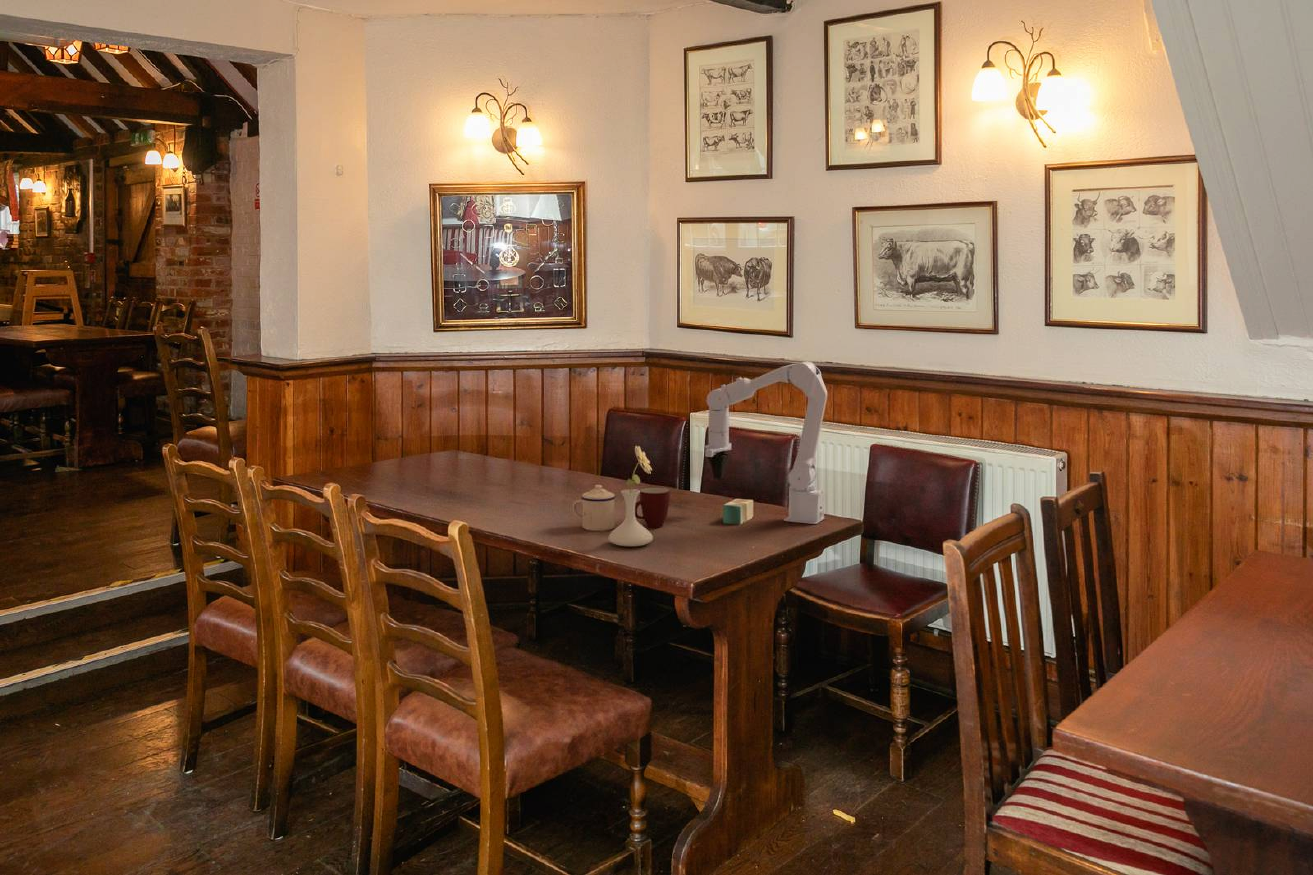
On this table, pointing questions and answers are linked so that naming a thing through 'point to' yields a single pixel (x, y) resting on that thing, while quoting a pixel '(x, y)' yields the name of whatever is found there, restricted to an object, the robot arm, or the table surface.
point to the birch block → (738, 511)
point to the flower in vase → (632, 512)
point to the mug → (653, 506)
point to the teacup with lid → (597, 509)
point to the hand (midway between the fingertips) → (718, 478)
